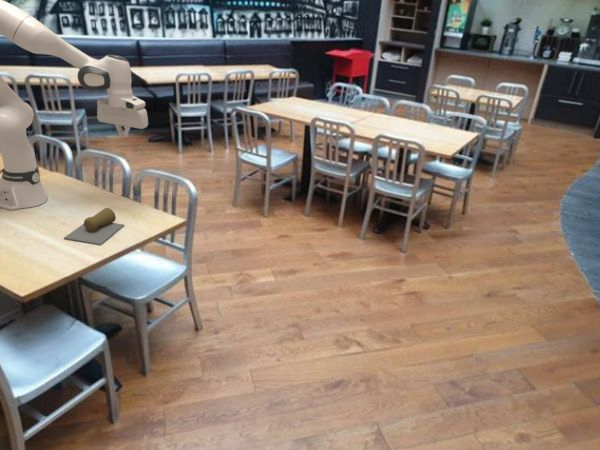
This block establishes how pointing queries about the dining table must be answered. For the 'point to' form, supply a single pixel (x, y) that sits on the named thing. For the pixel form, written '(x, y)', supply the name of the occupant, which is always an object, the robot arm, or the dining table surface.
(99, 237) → the rubber mat
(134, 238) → the dining table surface
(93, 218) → the cork
